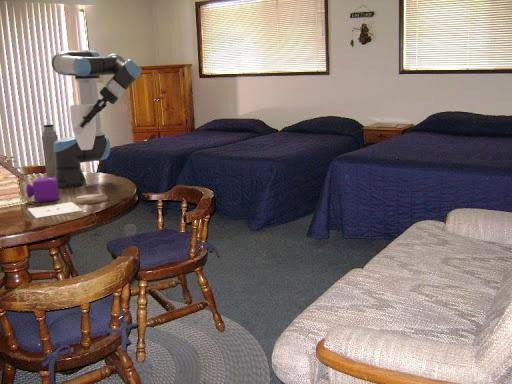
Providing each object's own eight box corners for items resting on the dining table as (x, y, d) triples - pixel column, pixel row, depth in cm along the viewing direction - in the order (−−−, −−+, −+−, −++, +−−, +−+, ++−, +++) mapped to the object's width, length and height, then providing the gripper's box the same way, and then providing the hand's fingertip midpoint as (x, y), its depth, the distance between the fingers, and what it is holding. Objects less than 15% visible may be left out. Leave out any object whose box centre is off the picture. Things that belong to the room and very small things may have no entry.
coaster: (72, 200, 244) (72, 196, 243) (101, 195, 250) (101, 192, 250) (80, 205, 233) (80, 202, 233) (110, 200, 240) (110, 197, 239)
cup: (97, 157, 233) (92, 105, 228) (71, 158, 232) (66, 106, 227) (102, 153, 243) (97, 103, 238) (77, 154, 242) (72, 104, 237)
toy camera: (26, 199, 248) (23, 177, 246) (58, 196, 253) (56, 174, 251) (27, 204, 238) (24, 182, 236) (60, 200, 243) (58, 178, 241)
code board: (27, 209, 230) (27, 208, 230) (71, 202, 239) (71, 202, 239) (36, 218, 215) (35, 217, 215) (82, 210, 224) (82, 210, 224)
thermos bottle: (43, 177, 298) (37, 125, 292) (51, 175, 306) (45, 124, 300) (57, 177, 297) (51, 125, 291) (64, 175, 305) (58, 123, 299)
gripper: (118, 99, 224) (81, 140, 225) (119, 96, 246) (86, 134, 246) (103, 86, 222) (66, 128, 222) (106, 85, 244) (72, 123, 244)
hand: (77, 131), depth 234 cm, fingers closed on cup, 10 cm apart
